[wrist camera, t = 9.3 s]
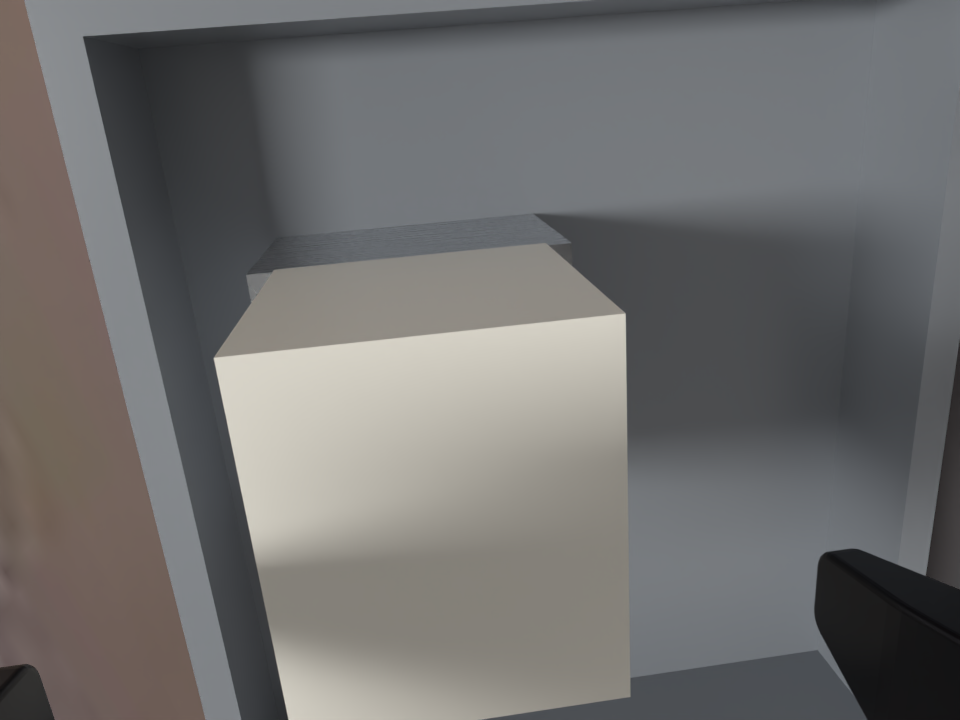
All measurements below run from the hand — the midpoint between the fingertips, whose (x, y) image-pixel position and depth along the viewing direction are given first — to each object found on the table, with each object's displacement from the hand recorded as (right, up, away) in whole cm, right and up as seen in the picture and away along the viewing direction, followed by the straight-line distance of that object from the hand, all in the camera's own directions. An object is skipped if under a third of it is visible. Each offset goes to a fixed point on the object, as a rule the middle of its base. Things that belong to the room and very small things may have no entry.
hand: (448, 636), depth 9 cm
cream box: (-1, +2, +6) cm, 7 cm away
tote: (+2, +2, +11) cm, 12 cm away
